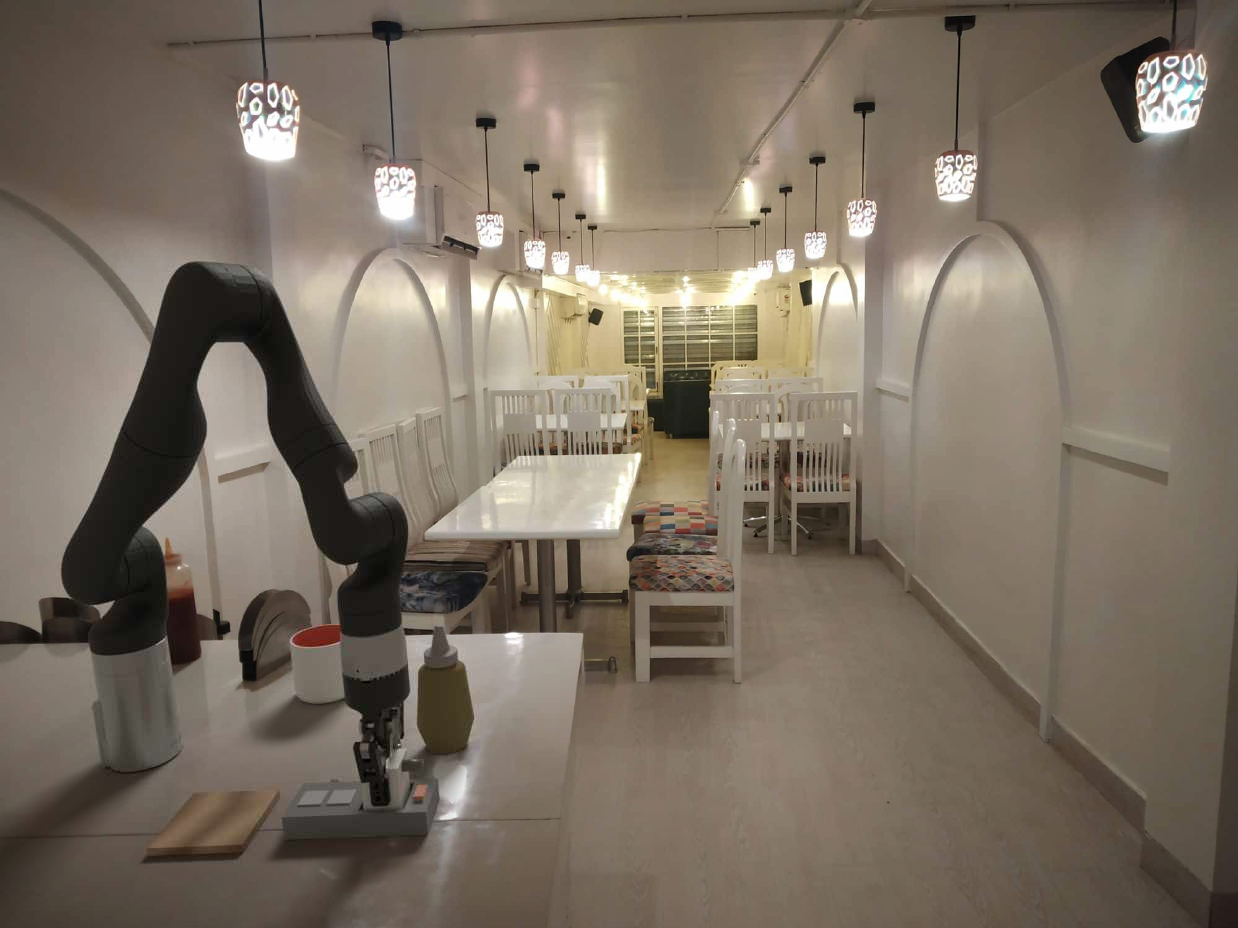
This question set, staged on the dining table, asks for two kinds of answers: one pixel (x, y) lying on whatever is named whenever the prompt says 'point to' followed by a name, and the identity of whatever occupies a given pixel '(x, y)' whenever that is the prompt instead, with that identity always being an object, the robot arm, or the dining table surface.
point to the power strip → (357, 812)
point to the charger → (395, 781)
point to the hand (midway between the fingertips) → (386, 791)
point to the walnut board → (215, 823)
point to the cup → (317, 664)
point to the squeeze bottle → (443, 698)
